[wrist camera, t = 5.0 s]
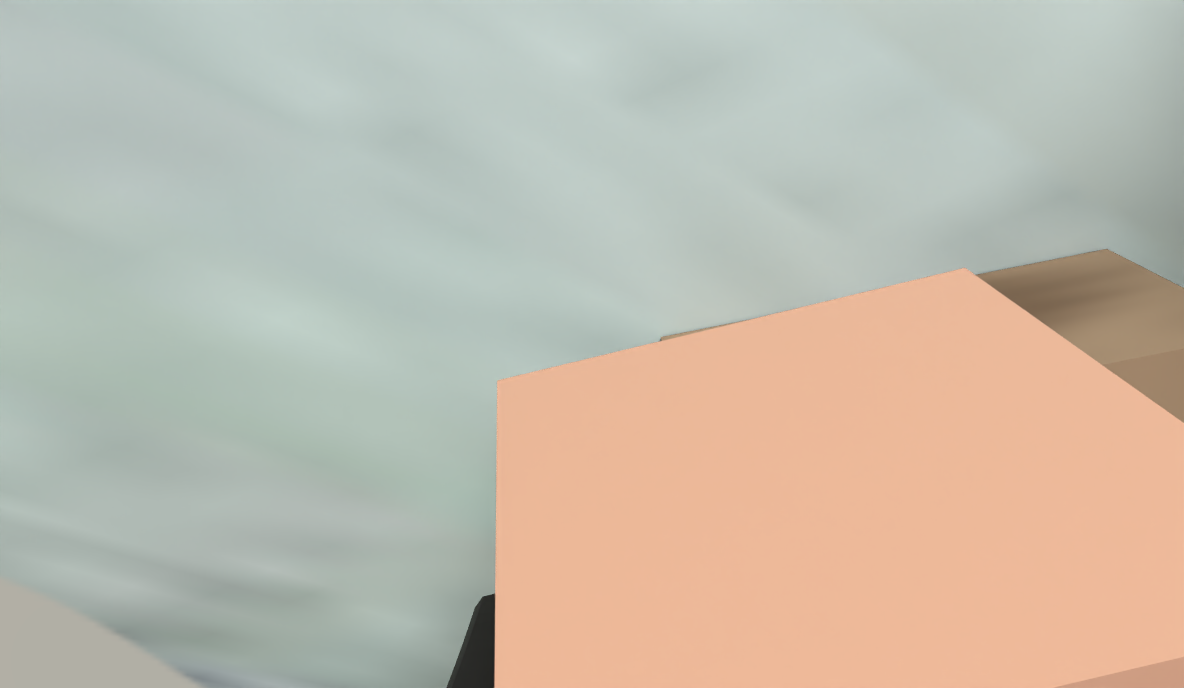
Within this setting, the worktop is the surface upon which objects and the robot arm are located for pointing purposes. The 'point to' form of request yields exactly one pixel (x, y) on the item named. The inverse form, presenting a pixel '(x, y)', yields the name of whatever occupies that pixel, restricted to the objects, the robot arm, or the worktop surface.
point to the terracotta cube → (841, 507)
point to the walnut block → (1105, 317)
